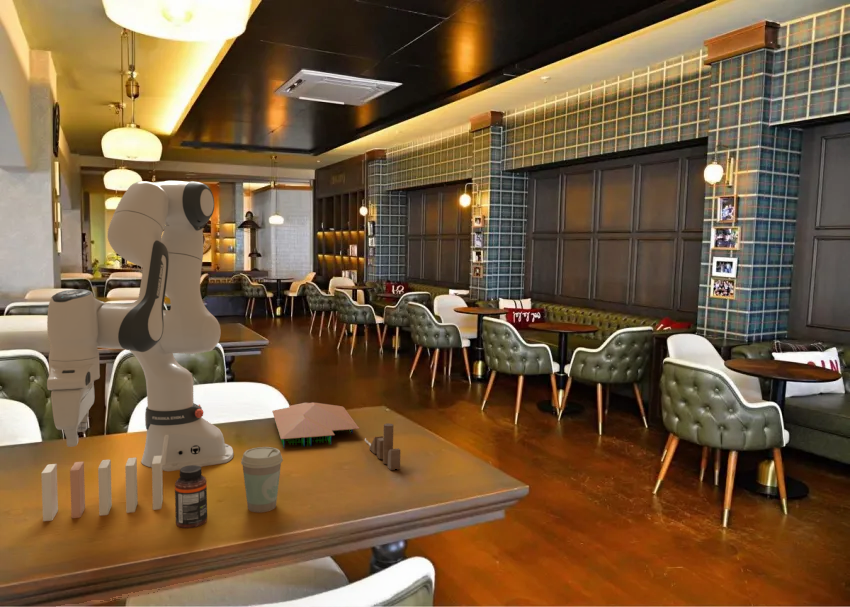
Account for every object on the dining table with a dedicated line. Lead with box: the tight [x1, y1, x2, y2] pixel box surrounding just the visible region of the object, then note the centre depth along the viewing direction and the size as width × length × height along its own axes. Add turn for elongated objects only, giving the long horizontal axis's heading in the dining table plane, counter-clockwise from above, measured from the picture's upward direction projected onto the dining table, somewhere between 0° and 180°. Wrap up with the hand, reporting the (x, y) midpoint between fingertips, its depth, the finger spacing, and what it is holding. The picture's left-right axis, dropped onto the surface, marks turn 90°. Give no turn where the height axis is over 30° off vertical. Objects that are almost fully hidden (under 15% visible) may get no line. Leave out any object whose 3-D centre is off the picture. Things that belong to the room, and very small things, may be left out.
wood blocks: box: [364, 423, 401, 471], centre depth 168 cm, size 25×3×10 cm, turn 23°
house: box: [271, 401, 360, 449], centre depth 190 cm, size 23×33×8 cm
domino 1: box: [69, 461, 86, 519], centre depth 127 cm, size 2×5×10 cm, turn 19°
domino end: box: [40, 463, 59, 522], centre depth 125 cm, size 2×5×10 cm, turn 19°
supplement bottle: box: [174, 465, 208, 529], centre depth 124 cm, size 6×6×11 cm
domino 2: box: [97, 459, 113, 516], centre depth 129 cm, size 2×5×10 cm, turn 19°
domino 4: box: [151, 455, 164, 511], centre depth 132 cm, size 2×5×10 cm, turn 19°
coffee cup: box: [240, 446, 284, 513], centre depth 132 cm, size 8×8×12 cm
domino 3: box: [124, 457, 138, 514], centre depth 130 cm, size 2×5×10 cm, turn 19°
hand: (77, 437), depth 126 cm, fingers open, 8 cm apart
